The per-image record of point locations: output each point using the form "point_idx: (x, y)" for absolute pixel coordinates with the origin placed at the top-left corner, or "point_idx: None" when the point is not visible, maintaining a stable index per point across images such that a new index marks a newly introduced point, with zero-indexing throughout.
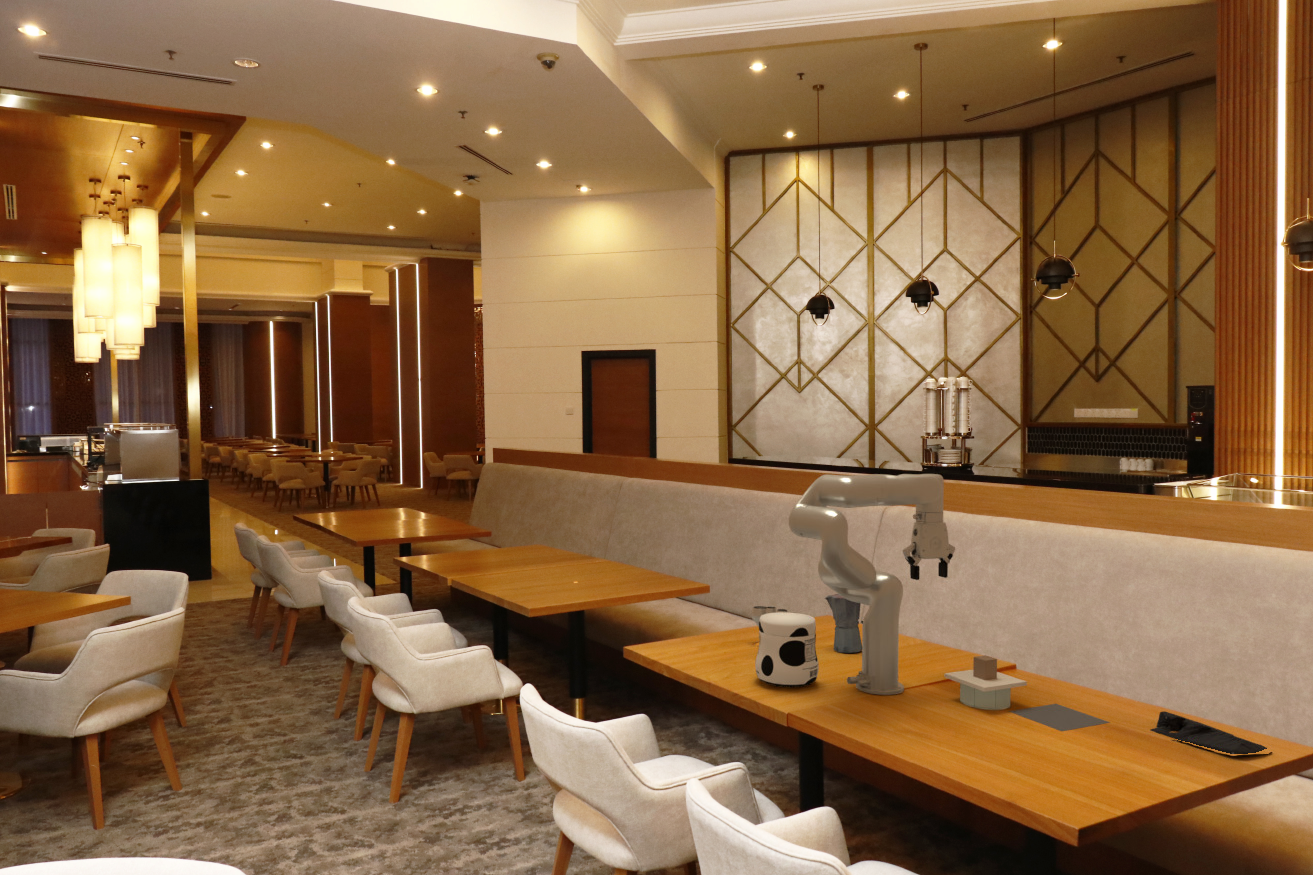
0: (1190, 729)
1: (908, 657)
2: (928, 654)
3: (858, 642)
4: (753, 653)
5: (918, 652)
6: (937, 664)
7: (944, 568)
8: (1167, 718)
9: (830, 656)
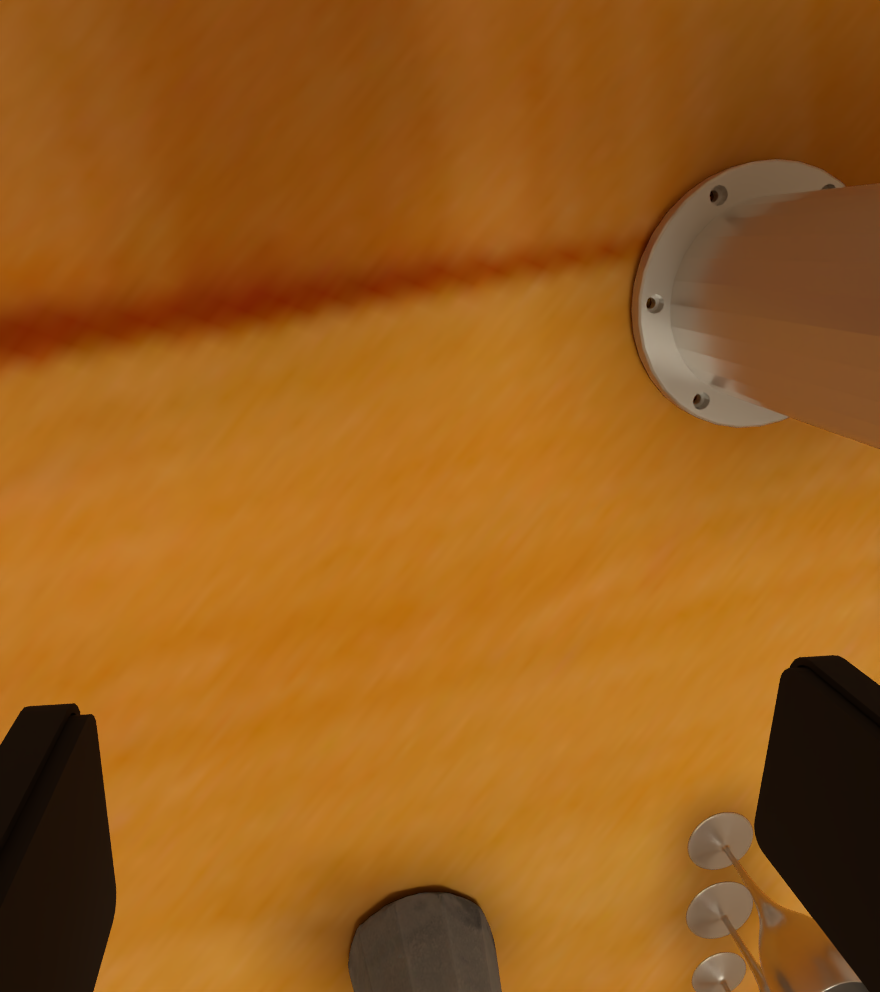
0: None
1: (191, 768)
2: None
3: (406, 942)
4: None
5: None
6: (113, 604)
7: (28, 891)
8: None
9: (570, 869)
